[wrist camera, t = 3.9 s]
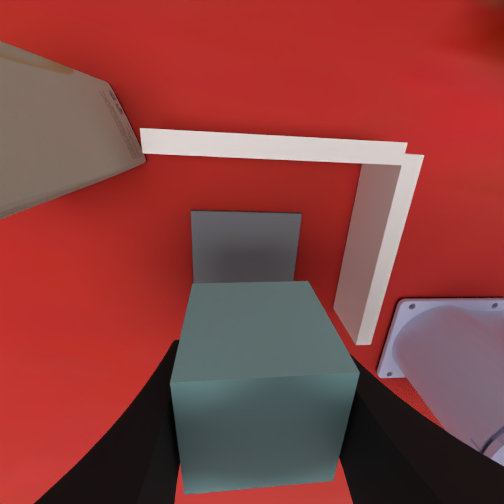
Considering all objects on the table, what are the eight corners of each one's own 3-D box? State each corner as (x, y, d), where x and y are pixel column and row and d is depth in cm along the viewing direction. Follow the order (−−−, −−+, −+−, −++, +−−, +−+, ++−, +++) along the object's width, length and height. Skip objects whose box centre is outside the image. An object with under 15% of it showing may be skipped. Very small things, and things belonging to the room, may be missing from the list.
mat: (300, 212, 18) (301, 213, 17) (289, 303, 20) (290, 305, 20) (191, 209, 17) (190, 211, 17) (195, 304, 20) (194, 306, 19)
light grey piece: (382, 141, 16) (427, 143, 13) (345, 308, 21) (370, 344, 17) (160, 129, 15) (139, 127, 11) (174, 310, 20) (162, 350, 16)
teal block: (308, 280, 12) (360, 372, 7) (297, 366, 14) (333, 480, 9) (192, 283, 11) (170, 382, 7) (198, 371, 13) (184, 494, 9)
